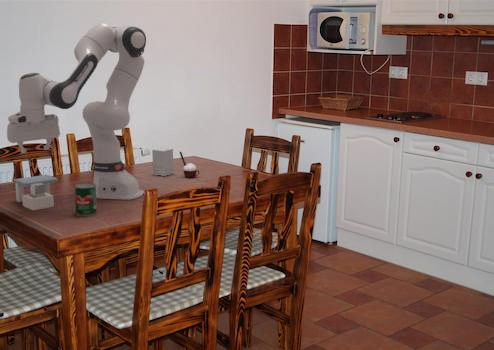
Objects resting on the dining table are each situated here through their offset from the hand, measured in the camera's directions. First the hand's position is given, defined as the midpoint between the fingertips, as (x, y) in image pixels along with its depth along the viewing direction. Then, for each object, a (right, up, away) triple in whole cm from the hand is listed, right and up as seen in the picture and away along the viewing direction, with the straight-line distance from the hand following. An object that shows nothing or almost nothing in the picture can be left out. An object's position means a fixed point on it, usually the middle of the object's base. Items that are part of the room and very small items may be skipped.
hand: (35, 151), depth 257 cm
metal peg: (0, -22, +5) cm, 22 cm away
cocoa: (+55, -10, +60) cm, 82 cm away
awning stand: (-1, -20, +10) cm, 23 cm away
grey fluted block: (+42, -9, +64) cm, 77 cm away
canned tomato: (+21, -24, -4) cm, 32 cm away
